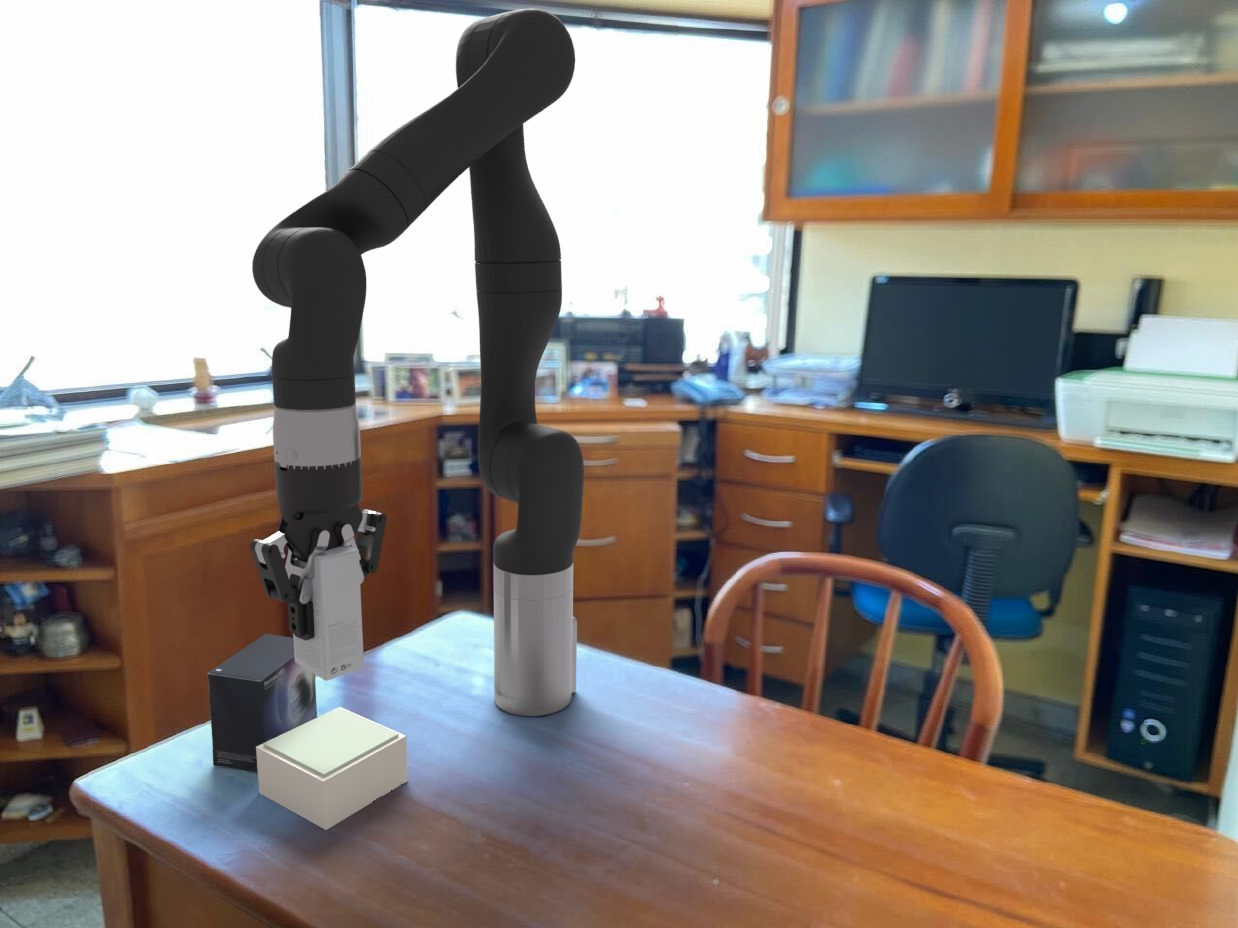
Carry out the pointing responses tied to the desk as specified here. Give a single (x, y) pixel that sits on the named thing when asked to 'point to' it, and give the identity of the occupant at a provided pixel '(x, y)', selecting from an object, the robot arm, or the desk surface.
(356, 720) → the cream rectangular block
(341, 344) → the robot arm
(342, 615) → the skincare box
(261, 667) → the small box
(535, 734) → the desk surface
